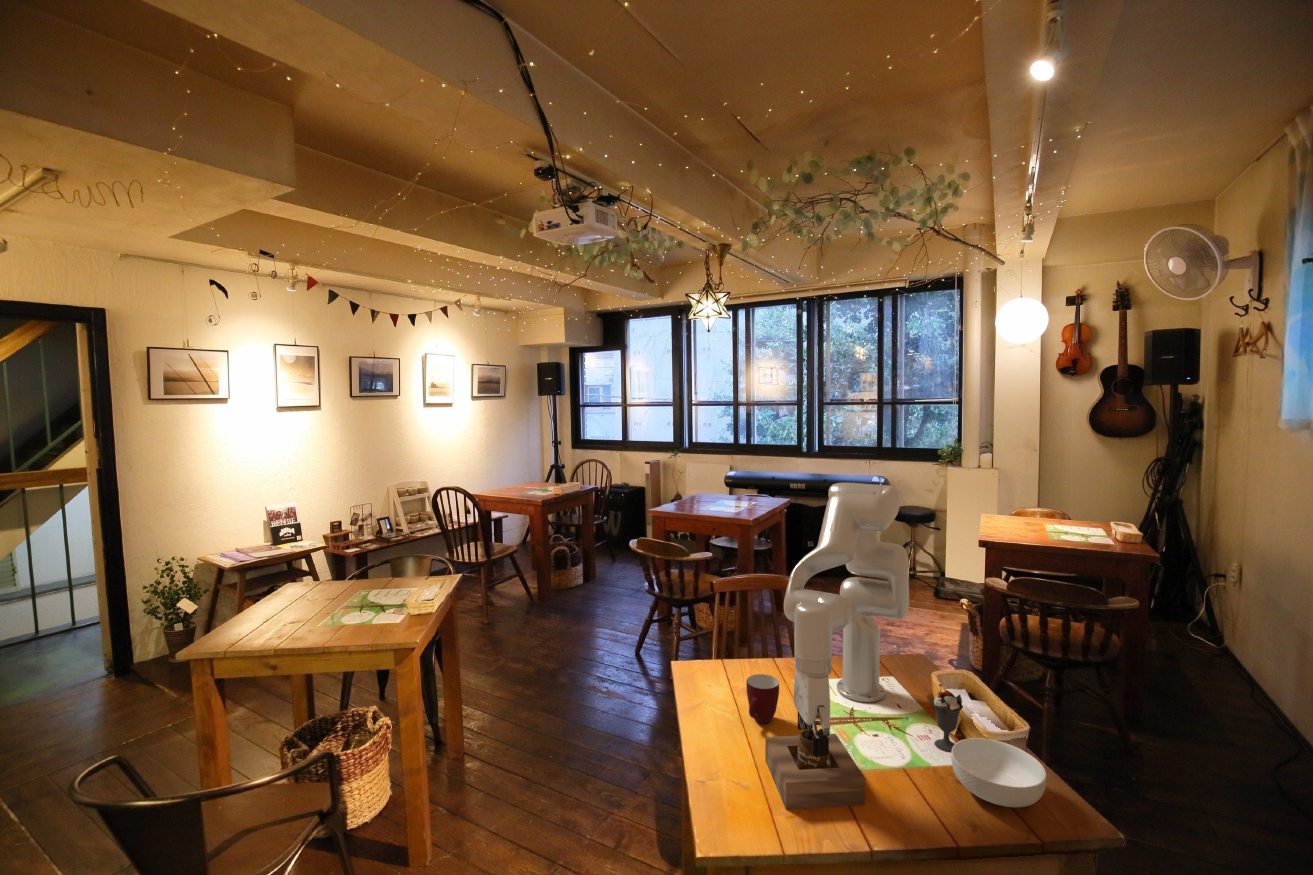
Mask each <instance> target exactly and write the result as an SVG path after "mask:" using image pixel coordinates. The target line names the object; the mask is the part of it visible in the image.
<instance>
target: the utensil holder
mask: <svg viewBox="0 0 1313 875" xmlns="http://www.w3.org/2000/svg"><path fill="white" fill-rule="evenodd" d="M800 716H801V715H800ZM799 718H800V717H799ZM799 722H800V720H799ZM803 722H804V720H803ZM800 724H801V723H800ZM802 725H803V723H802ZM800 727H801V726H800ZM804 727H805V726H804ZM800 731H801V732H799V735H800V741H799V743H798V765H799V768H800V769H801V770H806V769H824V768H826V766H827V756H813V754H812V736H814V732H813V728H812V729H811V725H810V729H808V728H807V729H806V730H803V729H801V730H800Z"/></svg>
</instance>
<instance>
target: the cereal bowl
mask: <svg viewBox="0 0 1313 875" xmlns="http://www.w3.org/2000/svg"><path fill="white" fill-rule="evenodd" d="M950 754H951V755H950V756H951V758H950V759H951V760H950V761H951V765H952V767H951V768H952V769H953V772H954V775H955V776H956V778H957V779H958V781H959V782H960V783H961V785H962V786H964V788H965V789H967V790H968V791H969V792H971V793H972V794H974V795H975V796H977V797H978V798H980V799H982V800H984V801H986V802H988V803H991V804H993V805H998V806H1000V807H1005V808H1008V807H1009V808H1026V807H1028V806H1031V805H1034V804H1035V803H1037V802H1038V801H1039V800H1040V799H1041V798H1042V796H1043V795H1044V793H1045V791H1046V787H1047V786H1046V785H1047V777H1048V776H1047V772H1046V771H1047V770H1046V769H1045V767H1044V766H1043V765H1042V763H1041V762H1040V761H1039V760H1038V759H1036V758H1035V757H1034V756H1033V755H1031V754H1029V753H1028V752H1026V751H1024V750H1023V749H1021V748H1019V747H1017V746H1015V745H1011V744H1009V743H1006V742H1003V741H999V740H995V739H990V738H984V737H983V738H981V737H972V738H971V737H970V738H965V739H961V740H959V741H957V742H956V743H955V745H954V746H953V748H952V752H950Z"/></svg>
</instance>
